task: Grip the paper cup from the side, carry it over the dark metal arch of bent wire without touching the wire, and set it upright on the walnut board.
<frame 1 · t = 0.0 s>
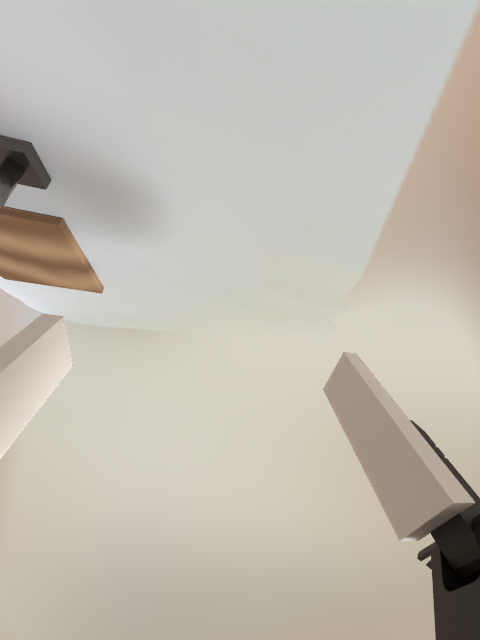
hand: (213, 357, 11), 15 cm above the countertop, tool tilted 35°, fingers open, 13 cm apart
walnut board: (30, 250, 29), on the countertop
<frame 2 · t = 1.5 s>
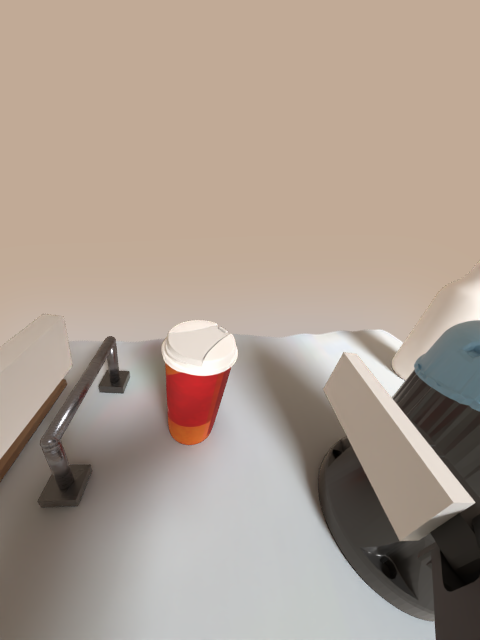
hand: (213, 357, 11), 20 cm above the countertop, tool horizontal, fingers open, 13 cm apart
alcohol: (411, 375, 50), on the countertop
paper cup: (190, 425, 30), on the countertop
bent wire: (96, 426, 28), on the countertop
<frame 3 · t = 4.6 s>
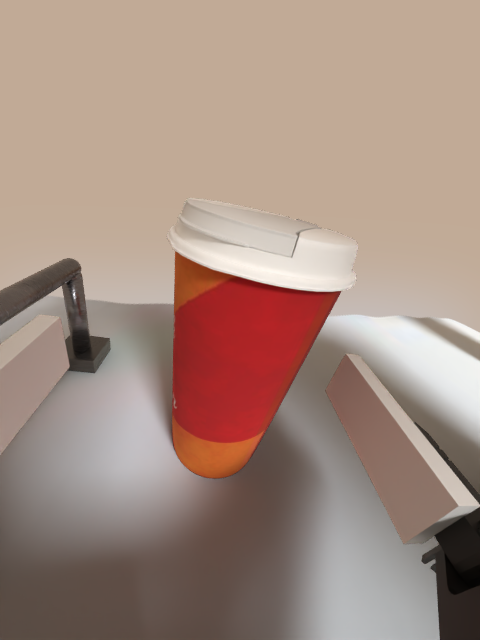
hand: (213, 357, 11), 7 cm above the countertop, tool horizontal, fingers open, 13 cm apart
paper cup: (213, 437, 16), on the countertop
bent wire: (27, 430, 14), on the countertop
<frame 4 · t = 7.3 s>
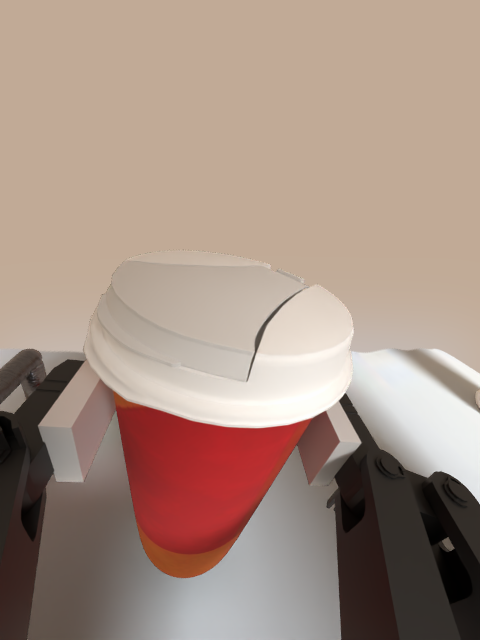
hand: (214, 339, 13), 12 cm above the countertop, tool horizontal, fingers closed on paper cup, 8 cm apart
paper cup: (190, 512, 14), point 3 cm above the countertop, touching gripper
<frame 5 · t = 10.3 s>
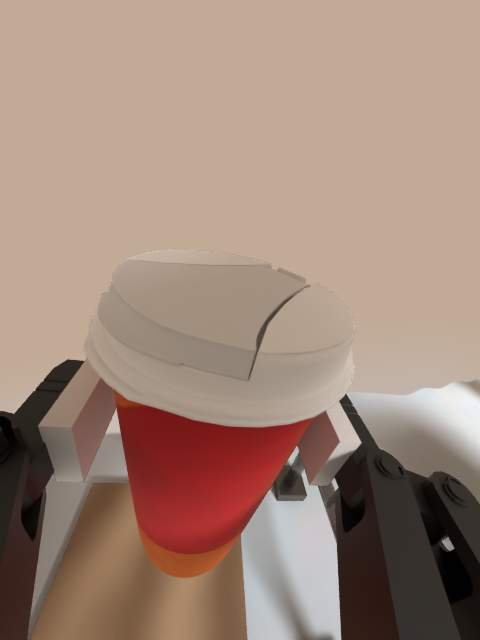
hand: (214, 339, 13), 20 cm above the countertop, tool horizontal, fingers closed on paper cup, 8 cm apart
paper cup: (190, 511, 14), point 11 cm above the countertop, touching gripper
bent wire: (305, 565, 21), on the countertop
walnut board: (153, 582, 18), on the countertop
when the fingers open (10 cm above the countertop, at t = 13.4 s): paper cup stays where it is, resting on walnut board.
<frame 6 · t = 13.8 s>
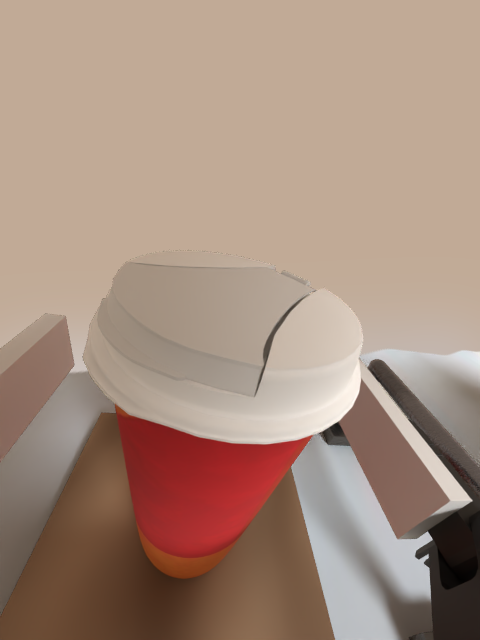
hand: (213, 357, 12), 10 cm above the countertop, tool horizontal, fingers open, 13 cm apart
paper cup: (190, 512, 14), point 1 cm above the countertop, touching walnut board
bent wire: (376, 515, 16), on the countertop
walnut board: (186, 527, 14), on the countertop
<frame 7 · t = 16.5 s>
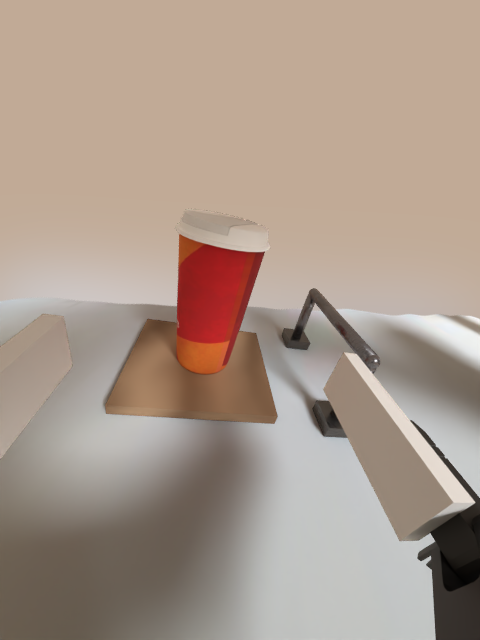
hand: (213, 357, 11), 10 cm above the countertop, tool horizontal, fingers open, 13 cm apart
paper cup: (202, 357, 25), point 1 cm above the countertop, touching walnut board
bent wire: (309, 374, 28), on the countertop
walnut board: (200, 366, 25), on the countertop
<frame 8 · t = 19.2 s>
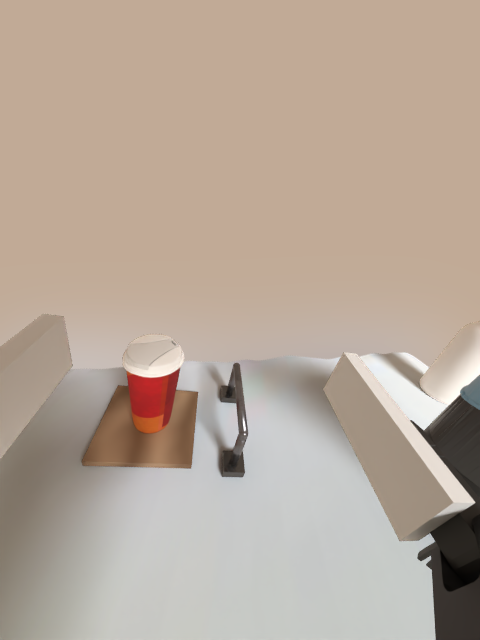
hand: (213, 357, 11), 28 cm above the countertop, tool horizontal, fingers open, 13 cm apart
alcohol: (435, 393, 62), on the countertop
paper cup: (151, 418, 37), point 1 cm above the countertop, touching walnut board
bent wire: (230, 426, 40), on the countertop
walnut board: (150, 424, 37), on the countertop
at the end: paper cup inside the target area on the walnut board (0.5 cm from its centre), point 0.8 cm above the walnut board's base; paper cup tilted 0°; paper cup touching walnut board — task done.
